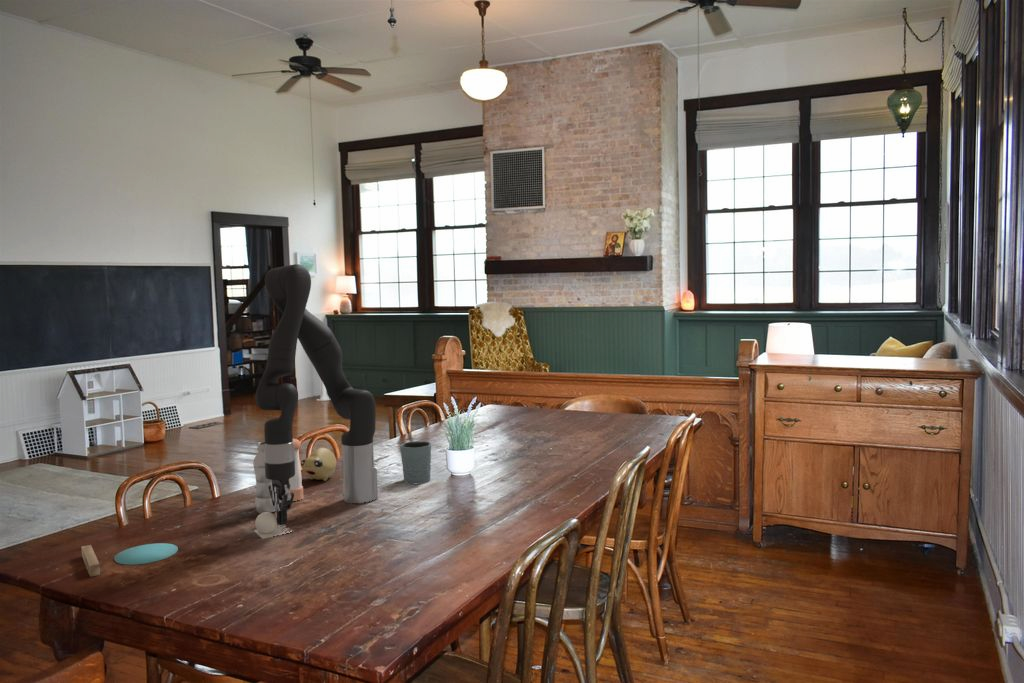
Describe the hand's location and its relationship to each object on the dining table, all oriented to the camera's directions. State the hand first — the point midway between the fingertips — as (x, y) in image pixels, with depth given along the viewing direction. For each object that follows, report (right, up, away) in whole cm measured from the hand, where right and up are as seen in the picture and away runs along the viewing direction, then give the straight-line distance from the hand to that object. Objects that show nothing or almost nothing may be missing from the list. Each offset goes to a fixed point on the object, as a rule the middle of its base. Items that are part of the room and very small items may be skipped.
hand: (282, 524), depth 201 cm
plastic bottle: (-9, -1, +17) cm, 19 cm away
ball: (-4, +1, -1) cm, 4 cm away
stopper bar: (-38, -5, -22) cm, 44 cm away
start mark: (-2, -2, 0) cm, 3 cm away
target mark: (-29, -4, -15) cm, 32 cm away
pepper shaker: (-6, 0, +30) cm, 30 cm away
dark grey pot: (+29, +2, +48) cm, 57 cm away
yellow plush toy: (-3, +2, +51) cm, 52 cm away
